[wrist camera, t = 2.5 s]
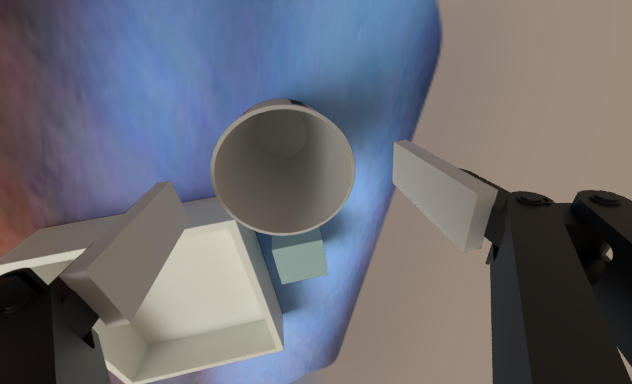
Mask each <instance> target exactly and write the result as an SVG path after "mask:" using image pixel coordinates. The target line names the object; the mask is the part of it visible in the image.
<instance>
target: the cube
mask: <svg viewBox="0 0 632 384" xmlns="http://www.w3.org/2000/svg"><path fill="white" fill-rule="evenodd" d="M272 253H273V256H274V260H275V263H276V266H277V270H278V273H279V276H280V279H281V283H282V284H287V283H291V282H296V281H301V280H305V279H310V278H314V277H319V276H324V275H328V273H327V266H326V259H325V252H324V246H323V239H322V236H321V232H320V228H319V227H317V228H315V229H313V230H310V231H308V232H304V233H301V234H296V235H286V236H278V235H272Z"/></svg>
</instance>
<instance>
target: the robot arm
mask: <svg viewBox="0 0 632 384" xmlns="http://www.w3.org/2000/svg"><path fill="white" fill-rule="evenodd" d="M392 182H393V183H394V184H395V185H396V186H397V187H398V188H399V189H400V190H401V191H402V192H403V193H404V194H405V195H406V196H407V197H408V198H409V199H410V200H411V201H412V202H413V203H414V204H415V205H416V206H417V207H418V208H419V209H420V210H421V211H422V212H423V213H424V214H425V215H426V216H427V217H428V218H429V219H430V220H431V221H432V222H433V223H434V224H435V225H436V226H437V227H438V228H439V229H440V230H441V231H442V232H443V233H444V234H445V235H446V236H447V237H448V238H449V239H450V240H452V241H453V242H454V243H455V244H456V245H457V246H458V247H459V248H460V249H461V250H462V251H463V252H467V251H471V250H476V249H481V247H482V243H483V240H484V237H486V238H487V239H488V240H489V241H491V242H492V245H491V248H490V251H489V254H488V257H487V261H486V264H489V263H490V279H491V318H492V319H491V324H492V366H493V367H492V368H493V384H632V381H631V379H630V377H629V374H628V372H627V370H626V367H625V365H624V363H623V361H622V358H621V356H620V353H619V351H618V349H619V350H620V351H621V353H622V354H623V355H624V357H625V358H626V360H627V361H628V362H629V364H630V365H631V366H632V201H631V200H629V199H627V198H625V197H623V196H619V195H616V194H615V193H612V192H606V191H601V190H600V191H594V190H586V191H581V192H578V193H577V195H576V197H575V199H574V201H573V203H554V202H553V200H551V199H549V198H548V197H546V196H543V195H540V194H537V193H532V192H522V191H518V192H512V193H510V192H508V191H506V190H504V189H502V188H500V187H499V186H497V185H495V184H493V183H491V182H489V181H486V179H484V178H482V177H479V176H478V175H476V174H474V173H472V172H470V171H467V170H464V169H460V168H456V167H455V166H453V165H451V164H449V163H447V162H446V161H444V160H442V159H440V158H439V157H437V156H435V155H433V154H431V153H429V152H428V151H426V150H424V149H422V148H420V147H419V146H417V145H415V144H413V143H411V142H409V141H408V140H402V141H396V142H394V154H393V180H392ZM189 221H190V219H189V217H188V215H187V213H186V211H185V209H184V207H183V205H182V203H181V201H180V199H179V197H178V195H177V193H176V191H175V189H174V187H173V184H172V182H171V181H166V182H160V183H156V184H155V185H154V186H153V187H152V188H151V189H150V190H149V191H148V192H147V193H146V194H145V195H144V196H143V197H142V198H140V199H139V200H138V201H137V202H136V203H135V204H134V205H133V206H132V207H131V208H130V209H129V210H128V211H127V212H126V213H125V214H124V215H123V216H121V217H120V218H119V219H118V220H117V221H116V222H115V223H114V224H113V225H112V226H111V227H110V228H109V229H108V230H107V231H106V232H105V233H104V234H103V235H101V236H100V237H99V238H98V239H97V240H96V241H95V242H93V243H92V244H91V245H90V246H89V247H88V248H87V249H86V250H85V251H84V252H83V253H82V254H80V255H79V256H78V257H77V258H76V259H75V261H73V262H72V263H71V264H70V265H69V266H68V267H67V268H66V269H65V270H64V271H62V272H61V273H60V274H59V275H58V276H57V277H56V278H55V279H54V280H53V281H52V282H51V283H50V284H49V285H47V284H46V283H45V282H44V281H43V280H42V279H41V278H40V277H39V276H38V275H37V274H36V273H35V272H34V271H33V270H32V269H31V268H20V269H16V270H12V271H10V272H7V273H5V274H2V275H0V384H111V383H110V379H109V375H108V371H107V367H106V363H105V359H104V355H103V351H102V347H101V343H100V339H99V335H98V333H97V332H96V331H95V330H94V329H93V328H92V327H93V326H94V325H95V323H96V322H97V320H98V319H99V318H100V319H101V320H102V321H103V322H104V323H105V324H106V325H107V326H108V327H109V328H110V327H115V326H120V325H124V324H129V323H131V321H132V320H133V318H134V316H135V314H136V313H137V311H138V309H139V308H140V306H141V304H142V302H143V301H144V299H145V297H146V295H147V294H148V292H149V290H150V288H151V287H152V285H153V283H154V282H155V280H156V278H157V276H158V275H159V273H160V271H161V269H162V268H163V266H164V264H165V262H166V261H167V259H168V257H169V256H170V254H171V252H172V250H173V249H174V247H175V245H176V243H177V242H178V240H179V238H180V236H181V235H182V233H183V231H184V230H185V228H186V226H187V224H188V223H189ZM610 247H611V249H612V251H613V258H612V260H610V258H608V256H607V255H606V253H607V252H608V250H609V248H610ZM617 347H618V349H617Z"/></svg>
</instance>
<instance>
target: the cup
mask: <svg viewBox="0 0 632 384" xmlns="http://www.w3.org/2000/svg"><path fill="white" fill-rule="evenodd" d="M210 176H211V183H212V187H213V190H214V193H215V195H216V197H217V199H218V201H219V203H220V204H221V206H222V207H223V208H224V209H225V211H226V212H227V213H228V214H229V215H230V216H231V217H232V218H233V219H235V220H236V221H237V222H239V223H240V224H242V225H244V226H245V227H247V228H249V229H252V230H254V231H257V232H260V233H264V234H269V235H278V236H286V235H296V234H301V233H304V232H308V231H310V230H313V229H315V228H317V227H319V226H321V225H323V224H324V223H326V222H327V221H329V220H330V219H331V218H332V217H334V216H335V215H336V214H337V213H338V212H339V210H340V209H341V208H342V207H343V205H344V204H345V202H346V201H347V199H348V197H349V195H350V193H351V190H352V187H353V184H354V179H355V161H354V156H353V152H352V149H351V146H350V144H349V142H348V140H347V139H346V137H345V136H344V134H343V133H342V131H341V130H340V129H339V128H338V127H337V126H336V125H335V124H334V123H333V122H332V121H330V120H329V119H328V118H326V117H325V116H323V115H322V114H320V113H319V112H317V111H316V110H314V109H313V108H311V107H310V106H308V105H306V104H304V103H301V102H298V101H295V100H290V99H272V100H267V101H264V102H261V103H258V104H256V105H254V106H253V107H251V108H250V109H248V110H247V111H246V112H245V113H243V114H242V115H241V116H240V117H239V118H238V119H237V120H236V121H235V122H233V123H232V124H231V125H230V126H229V127H228V128H227V129H226V131H225V132H224V133H223V134H222V136H221V137H220V139H219V140H218V142H217V144H216V146H215V149H214V151H213V155H212V159H211V166H210Z"/></svg>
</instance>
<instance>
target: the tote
mask: <svg viewBox="0 0 632 384" xmlns="http://www.w3.org/2000/svg"><path fill="white" fill-rule="evenodd" d="M182 205H183V207H184V209H185V211H186V213H187V215H188V217H189V219H190V221H189V223H188V224H187V226H186V228H185V230H184V231H183V233H182V235H181V236H180V238H179V240H178V242H177V243H176V245H175V247H174V249H173V250H172V252H171V254H170V256H169V257H168V259H167V261H166V262H165V264H164V266H163V268H162V269H161V271H160V273H159V275H158V276H157V278H156V280H155V282H154V283H153V285H152V287H151V288H150V290H149V292H148V294H147V295H146V297H145V299H144V301H143V302H142V304H141V306H140V308H139V309H138V311H137V313H136V314H135V316H134V318H133V320H132V321H131V323H129V324H124V325H120V326H115V327H110V328H109V327H108V326H107V325H106V324H105V323H104V322H103V321H102V320H101V319H100V318H99V319H98V320H97V322H96V323H95V325H94V326H93V327H92V328H93V329H94V330H95V331H96V332H97V333H98V335H99V339H100V343H101V347H102V351H103V355H104V359H105V363H106V367H107V369H108V370H109V371H111V372H112V373H113V374H114V375H116V376H117V377H118V378H119V379H120V380H122V381H123V382H124V383H125V384H144V383H149V382H153V381H157V380H161V379H165V378H170V377H174V376H178V375H182V374H186V373H190V372H195V371H199V370H203V369H207V368H211V367H216V366H220V365H224V364H228V363H232V362H236V361H241V360H245V359H249V358H253V357H257V356H262V355H266V354H270V353H274V352H278V351H283V350H284V336H283V314H282V311H281V308H280V305H279V302H278V299H277V296H276V293H275V290H274V287H273V284H272V280H271V277H270V274H269V271H268V268H267V265H266V262H265V259H264V256H263V253H262V250H261V247H260V244H259V241H258V238H257V235H256V232H255V231H254V230H252V229H249V228H247V227H245V226H244V225H242V224H240V223H239V222H237V221H236V220H235V219H233V218H232V217H231V216H230V215H229V214H228V213H227V212H226V211H225V209H224V208H223V207H222V206H221V204H220V203H219V201H218V199H217V197H210V198H205V199H199V200H194V201H188V202H183V203H182ZM124 214H125V213H123V214H118V215H113V216H107V217H102V218H96V219H91V220H85V221H80V222H75V223H69V224H64V225H58V226H53V227H47V228H42V229H40V230H38V231H37V232H35V233H34V234H32V235H31V236H30V237H28V238H27V239H25V240H24V241H22V242H21V243H20V244H18V245H17V246H15V247H14V248H13V249H11V250H10V251H8V252H7V253H5V254H4V255H3V256H1V257H0V275H2V274H5V273H7V272H10V271H12V270H16V269H20V268H31V269H32V270H33V271H34V272H35V273H36V274H37V275H38V276H39V277H40V278H41V279H42V280H43V281H44V282H45V283H46V284H47V285H49V284H50V283H51V282H52V281H53V280H54V279H55V278H56V277H57V276H58V275H59V274H60V273H61V272H62V271H64V270H65V269H66V268H67V267H68V266H69V265H70V264H71V263H72V262H73V261H75V259H76V258H77V257H78V256H79V255H80V254H82V253H83V252H84V251H85V250H86V249H87V248H88V247H89V246H90V245H91V244H92V243H93V242H95V241H96V240H97V239H98V238H99V237H100V236H101V235H103V234H104V233H105V232H106V231H107V230H108V229H109V228H110V227H111V226H112V225H113V224H114V223H115V222H116V221H117V220H118V219H119V218H120V217H121V216H123V215H124Z"/></svg>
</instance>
